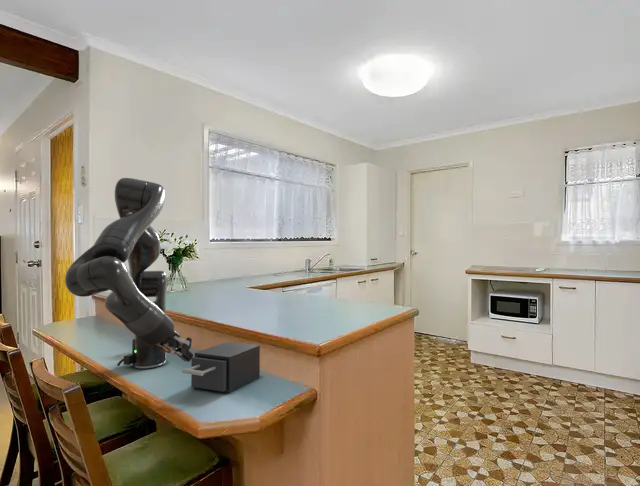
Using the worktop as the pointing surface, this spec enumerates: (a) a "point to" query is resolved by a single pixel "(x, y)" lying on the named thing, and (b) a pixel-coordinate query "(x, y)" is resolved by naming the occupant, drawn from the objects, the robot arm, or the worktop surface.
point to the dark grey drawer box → (236, 362)
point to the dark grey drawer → (208, 373)
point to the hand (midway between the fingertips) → (189, 358)
